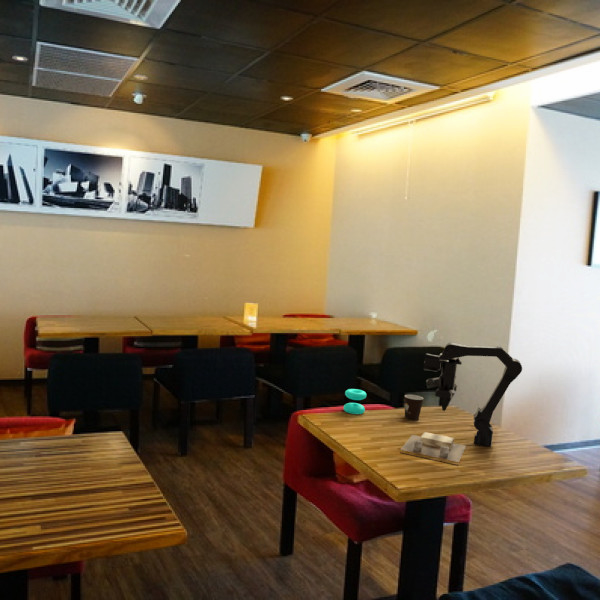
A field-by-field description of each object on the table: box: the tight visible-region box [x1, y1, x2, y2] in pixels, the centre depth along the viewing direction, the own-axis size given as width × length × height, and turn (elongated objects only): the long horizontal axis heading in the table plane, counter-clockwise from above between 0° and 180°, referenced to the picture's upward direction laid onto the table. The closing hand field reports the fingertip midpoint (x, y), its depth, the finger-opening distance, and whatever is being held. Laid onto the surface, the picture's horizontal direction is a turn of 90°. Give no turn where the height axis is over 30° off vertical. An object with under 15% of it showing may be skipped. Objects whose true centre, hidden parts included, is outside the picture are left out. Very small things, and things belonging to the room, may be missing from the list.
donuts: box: [343, 388, 367, 415], centre depth 291 cm, size 10×10×10 cm
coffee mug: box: [402, 394, 424, 421], centre depth 291 cm, size 12×9×10 cm
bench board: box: [399, 434, 467, 467], centre depth 245 cm, size 22×22×5 cm
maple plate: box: [420, 431, 455, 449], centre depth 250 cm, size 12×8×2 cm, turn 68°
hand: (444, 410), depth 258 cm, fingers closed
